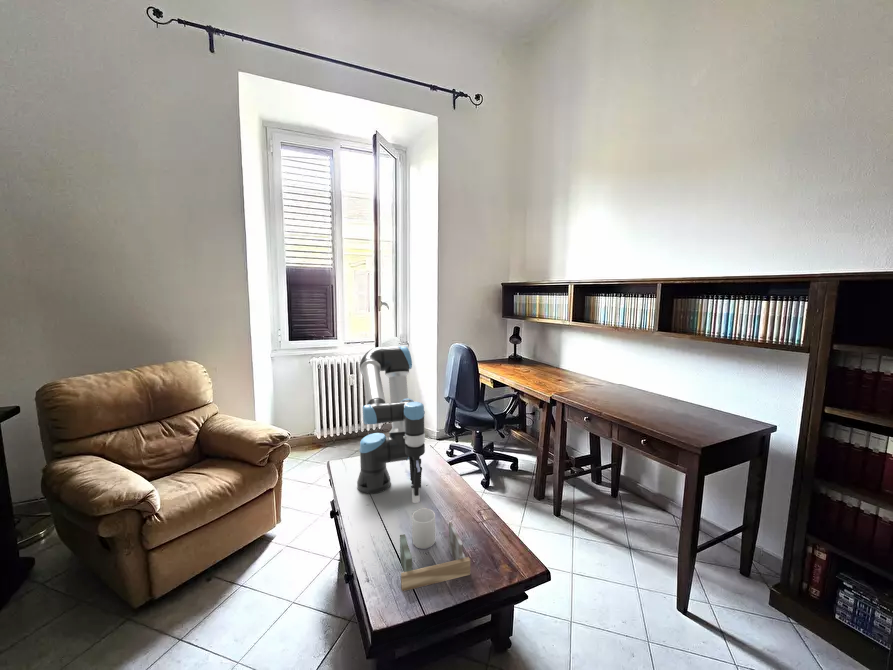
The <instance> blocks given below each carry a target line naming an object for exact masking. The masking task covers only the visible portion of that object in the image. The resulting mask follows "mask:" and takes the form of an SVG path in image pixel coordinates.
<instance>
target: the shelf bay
mask: <svg viewBox="0 0 893 670" xmlns="http://www.w3.org/2000/svg"><path fill="white" fill-rule="evenodd" d="M463 545H464V544H463V542H462V540H461V538H460V536H459V534H458V532H457V530H456V528H455V525H454V524H453V522H452V521H451V522H448V549H449V552H450V554H451V557H452V559H453V560H451V561H446V562H443V563H438V564H437V563H436V564H434V565H429V566H424V567H421V568H417V569H413V557H412V553H411V549H410V546H409V542H408V540H407V536H406V534H400V535H399V555H400V556H399V557H400V564H401V568H402V572H400V579H401V580H400V584H401V585H400V586H401V587H400V588H401V592H406V591H410V590H414V589H415V590H416V589H418V588H422V587H425V586H430V585H434V584H439V583H441V582H446V581H450V580H454V579H458V578H462V577H466V576H470V575H471V558H470V557H469V556H467V557H466V556H465V553H464V551H463V550H464V549H463Z"/></svg>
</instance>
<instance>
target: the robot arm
mask: <svg viewBox="0 0 893 670" xmlns="http://www.w3.org/2000/svg"><path fill="white" fill-rule="evenodd" d="M411 369H413V361H412V355H411V352H410V349H409V348H408V347H407V346H406V345H404V346H402V345H396V346H381V347H380V346H378V347H373V348H371V349H370V350H368V351H366V353H364V355H363V356H362V358H361V360H360V361H359V372H360V374H361V375H362V379H363V385H364V386H363V387H364V395H365V402H366V404H364V405H363V406H362V422H363V424H365V425H377V424H385V423H391V427H392V428H390V429H391V430H389V435H388V436H386V435H385V434H384V433H382V432H374V433H369V434H367V435H366V436H364V437H363V438H361V440H360V442H359V450H358V451H359V453H360V454H359V455H360V456H359V457H360V459H359V462H360V464H359V465H360V471H359V474H358V478H357V481H356V484H357V489H358V491H360V492H362V493H364V494H378V493H382V492H384V491H385V490H387V489H388V488H389V487H390V486H391V476H390V474H389V471H388V468H387V464H388V463H394V462H395V463H396V462H403V461H409V474H410V475H409V476H410V477H409V479H410V481H411V486H410V488H411V503H412V504H417V503H420V502H421V498H420V497H421V496H420V495H421V494H420V489H421V488H422V472H423V467H422V458H421V457H422V456H423V455H424V454H425V452H426V447H425V443H426V434H425V432H426V431H425V415H426V414H425V413H426V412H425V405H424V404H423V403H422V402H420V401H414V400H413V399H411V398H409V394H408V380H407V379H408V378H407V376H408V375H409V374H410V370H411ZM381 372H385V373H384V374H385V376H386V377H387V378H388V383H389V385H388V386H389V388H388V389H389V397H390V399H389V400H390V402H386V398H385V393H384V387H383V384H382V378H381Z"/></svg>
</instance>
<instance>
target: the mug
mask: <svg viewBox="0 0 893 670" xmlns="http://www.w3.org/2000/svg"><path fill="white" fill-rule="evenodd" d="M411 523H412V524H411V527H412V528H411V529H412V530H411V533H412V537H411V538H412V543H413V545H414V546H415V547H416V549H417V548H418V549H420V550H421V549H422V550H427V549H429V548H432V547H433V545H434V544H435V543H436V513H435V512H434V510H432V509H430V508H419V509H416V510H415V511H414V512H412V515H411Z"/></svg>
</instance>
